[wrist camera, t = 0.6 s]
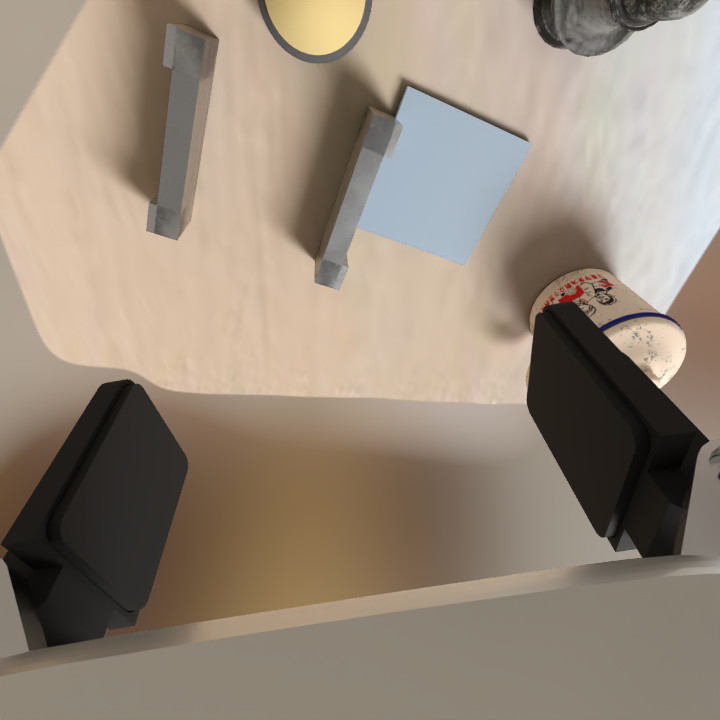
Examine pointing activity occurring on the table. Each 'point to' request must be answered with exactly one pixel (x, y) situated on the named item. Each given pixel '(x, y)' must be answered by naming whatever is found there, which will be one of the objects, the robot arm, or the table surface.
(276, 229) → the table surface
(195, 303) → the table surface
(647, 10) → the dark grey turned post
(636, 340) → the teacup with lid
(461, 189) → the mat
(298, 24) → the grey and yellow cylinder
